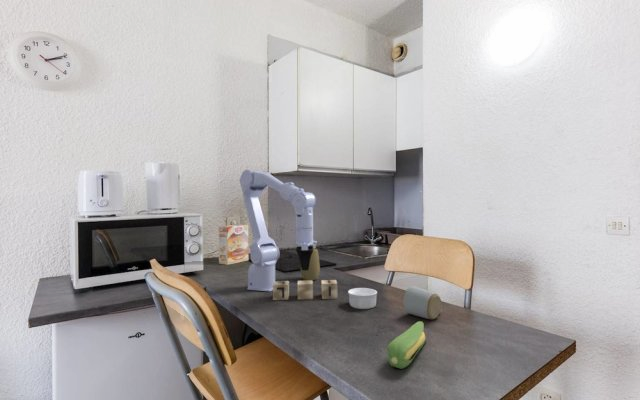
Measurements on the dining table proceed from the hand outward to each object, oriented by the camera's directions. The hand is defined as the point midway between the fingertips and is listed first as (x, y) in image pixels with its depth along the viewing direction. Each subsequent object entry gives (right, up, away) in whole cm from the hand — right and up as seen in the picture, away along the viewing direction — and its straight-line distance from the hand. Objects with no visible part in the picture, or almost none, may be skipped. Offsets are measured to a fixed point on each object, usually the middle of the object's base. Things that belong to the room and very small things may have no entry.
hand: (305, 268), depth 112 cm
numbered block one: (+8, -9, 0) cm, 12 cm away
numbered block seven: (-8, -10, 0) cm, 12 cm away
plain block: (0, -10, 0) cm, 10 cm away
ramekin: (+18, -10, -9) cm, 22 cm away
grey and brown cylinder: (+34, -9, -18) cm, 40 cm away
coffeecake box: (-40, -10, +65) cm, 77 cm away
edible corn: (+24, -10, -41) cm, 49 cm away
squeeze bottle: (+1, -10, +25) cm, 27 cm away
